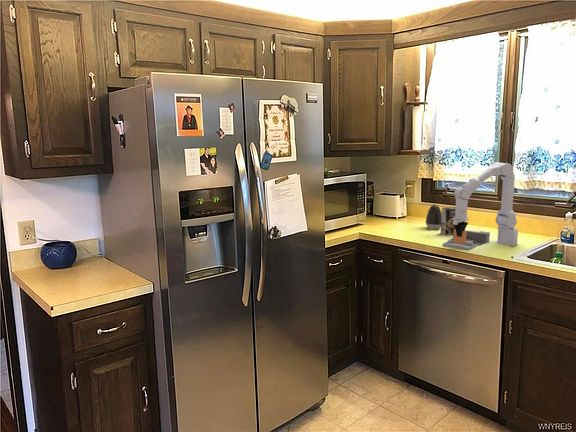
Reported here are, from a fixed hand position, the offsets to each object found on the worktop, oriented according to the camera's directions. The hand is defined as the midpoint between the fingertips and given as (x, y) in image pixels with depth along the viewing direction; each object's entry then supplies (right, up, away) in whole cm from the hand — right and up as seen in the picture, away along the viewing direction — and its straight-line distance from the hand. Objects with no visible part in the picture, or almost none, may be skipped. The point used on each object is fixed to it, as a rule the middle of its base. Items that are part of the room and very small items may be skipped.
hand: (459, 236), depth 242 cm
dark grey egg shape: (+1, +2, +46) cm, 46 cm away
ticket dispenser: (+9, -4, +12) cm, 15 cm away
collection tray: (0, -6, +1) cm, 6 cm away
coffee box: (+5, -1, +29) cm, 30 cm away
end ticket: (0, -4, +1) cm, 4 cm away
